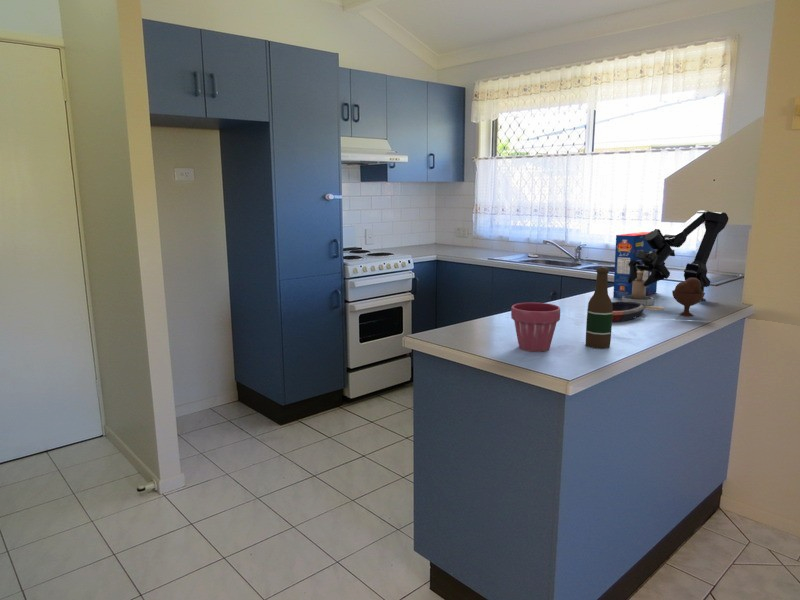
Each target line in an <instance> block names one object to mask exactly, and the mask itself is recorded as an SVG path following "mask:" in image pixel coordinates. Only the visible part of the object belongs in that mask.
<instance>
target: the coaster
mask: <svg viewBox="0 0 800 600" xmlns="http://www.w3.org/2000/svg"><path fill="white" fill-rule="evenodd" d="M645 309H646V310H653V311H654V310H656V311H658V310H659V311H666V309H665V307H663V306H655V305H649V306H645Z"/></svg>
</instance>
